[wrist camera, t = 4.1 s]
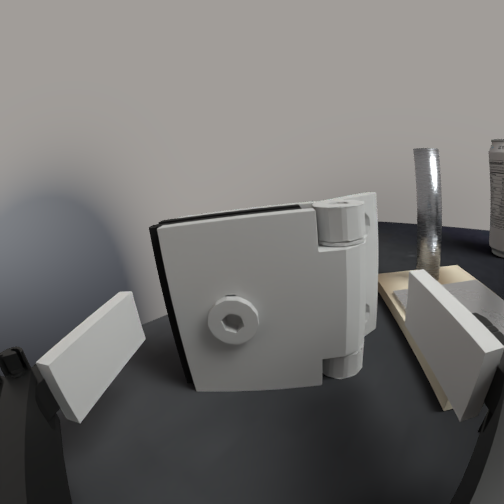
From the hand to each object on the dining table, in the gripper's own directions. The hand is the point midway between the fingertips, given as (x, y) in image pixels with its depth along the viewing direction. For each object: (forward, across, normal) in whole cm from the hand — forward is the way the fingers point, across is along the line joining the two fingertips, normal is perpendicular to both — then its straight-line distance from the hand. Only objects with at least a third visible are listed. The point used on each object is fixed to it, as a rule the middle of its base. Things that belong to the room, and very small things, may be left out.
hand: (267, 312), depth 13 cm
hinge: (+4, +1, -6) cm, 8 cm away
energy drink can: (+20, +31, -6) cm, 37 cm away
